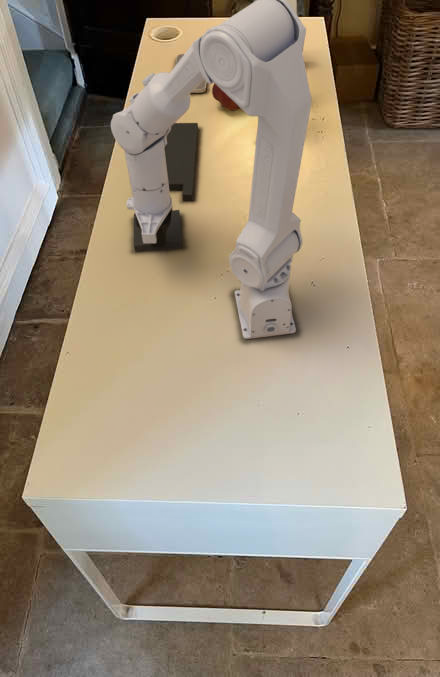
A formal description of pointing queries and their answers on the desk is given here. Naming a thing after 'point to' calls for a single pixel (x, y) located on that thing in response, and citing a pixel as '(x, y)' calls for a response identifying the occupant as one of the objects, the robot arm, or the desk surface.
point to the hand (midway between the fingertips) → (158, 244)
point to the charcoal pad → (171, 235)
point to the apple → (224, 99)
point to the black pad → (182, 158)
